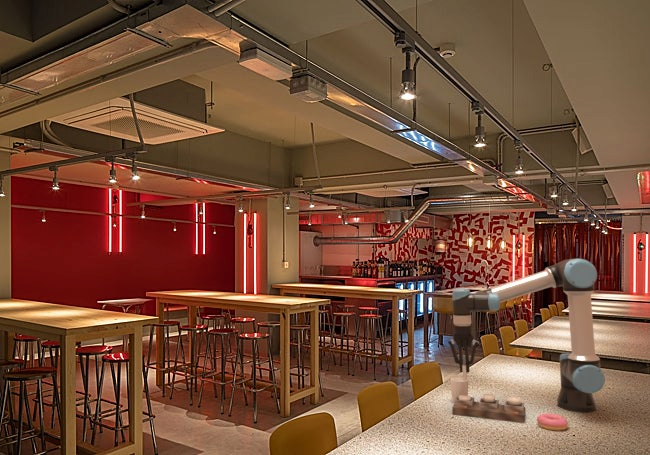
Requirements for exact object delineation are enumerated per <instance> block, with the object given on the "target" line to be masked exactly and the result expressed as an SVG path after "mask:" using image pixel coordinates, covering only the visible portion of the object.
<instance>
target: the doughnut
mask: <svg viewBox="0 0 650 455" xmlns="http://www.w3.org/2000/svg"><path fill="white" fill-rule="evenodd" d="M536 421H537V424H538V426H539V427H541V428H542V429H545V430H549V431H560V432H561V431H564V430H567V428H568V426H569V422H568V420H567V419H566V417H563V416H562V415H559V414H556V413H542V414H541V413H540V414H538V416H537V417H536Z"/></svg>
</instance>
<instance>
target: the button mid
mask: <svg viewBox="0 0 650 455" xmlns="http://www.w3.org/2000/svg"><path fill="white" fill-rule="evenodd" d="M482 398H483V401H485V402H495V400H496V396H495V394H491V393H485V394H482Z"/></svg>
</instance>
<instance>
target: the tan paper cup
mask: <svg viewBox="0 0 650 455" xmlns="http://www.w3.org/2000/svg"><path fill="white" fill-rule="evenodd" d="M450 391H451V392H450V393H451V400H452V402H453V403H455V399H456V397H457V396H460V395H467V396H469V379H468V378H467V381H463V377H457V376H456V377H451V378H450Z"/></svg>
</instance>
